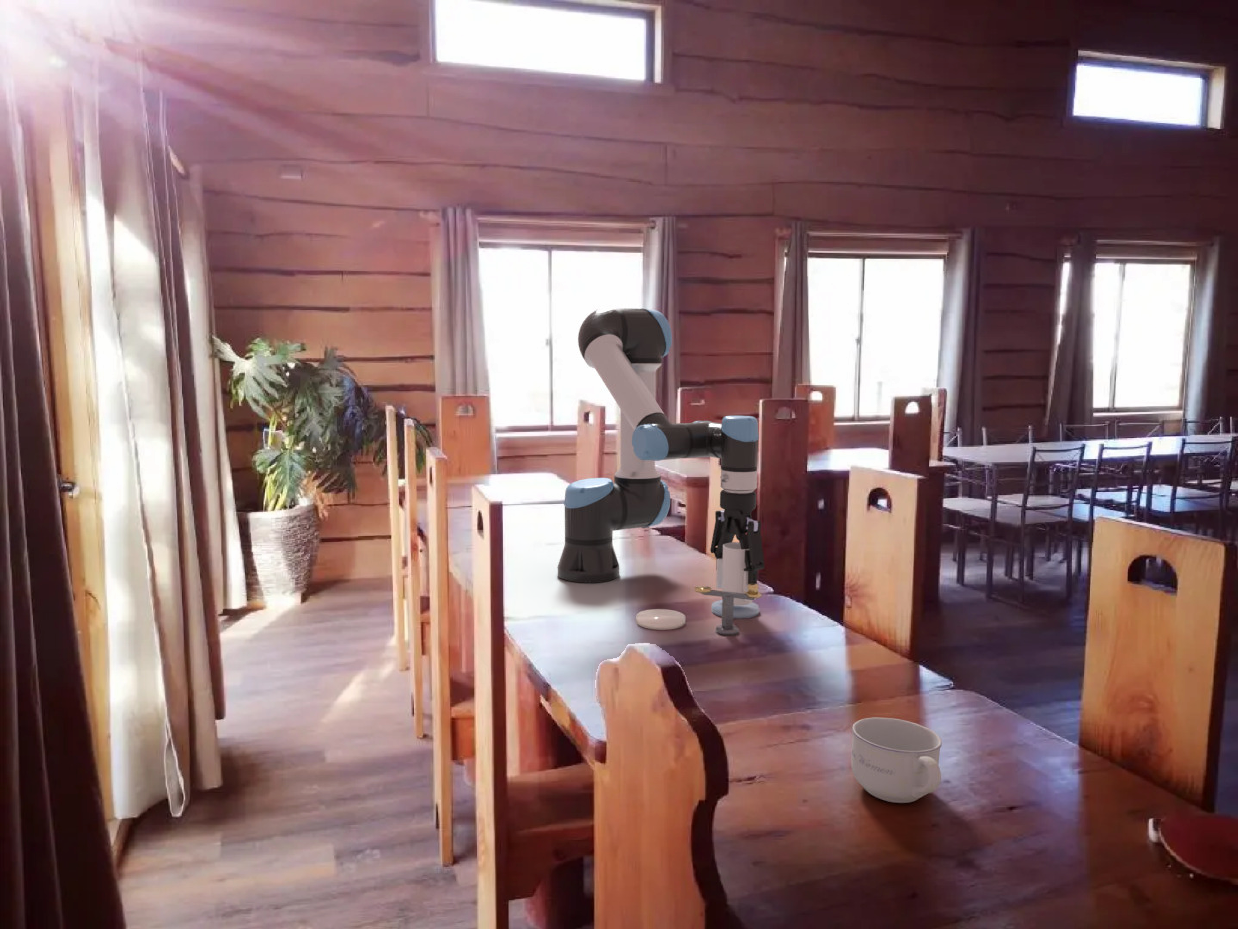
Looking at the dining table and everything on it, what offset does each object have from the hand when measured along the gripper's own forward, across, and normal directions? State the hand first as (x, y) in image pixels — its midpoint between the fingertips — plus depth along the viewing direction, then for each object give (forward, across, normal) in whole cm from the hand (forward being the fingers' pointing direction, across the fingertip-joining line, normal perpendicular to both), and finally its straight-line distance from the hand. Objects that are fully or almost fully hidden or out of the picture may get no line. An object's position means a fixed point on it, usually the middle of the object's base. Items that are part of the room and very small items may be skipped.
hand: (735, 593), depth 189 cm
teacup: (+4, +75, -24) cm, 79 cm away
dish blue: (+4, 0, 0) cm, 4 cm away
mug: (+1, 0, 0) cm, 1 cm away
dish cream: (+4, 0, -18) cm, 18 cm away
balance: (+4, +11, -9) cm, 15 cm away
